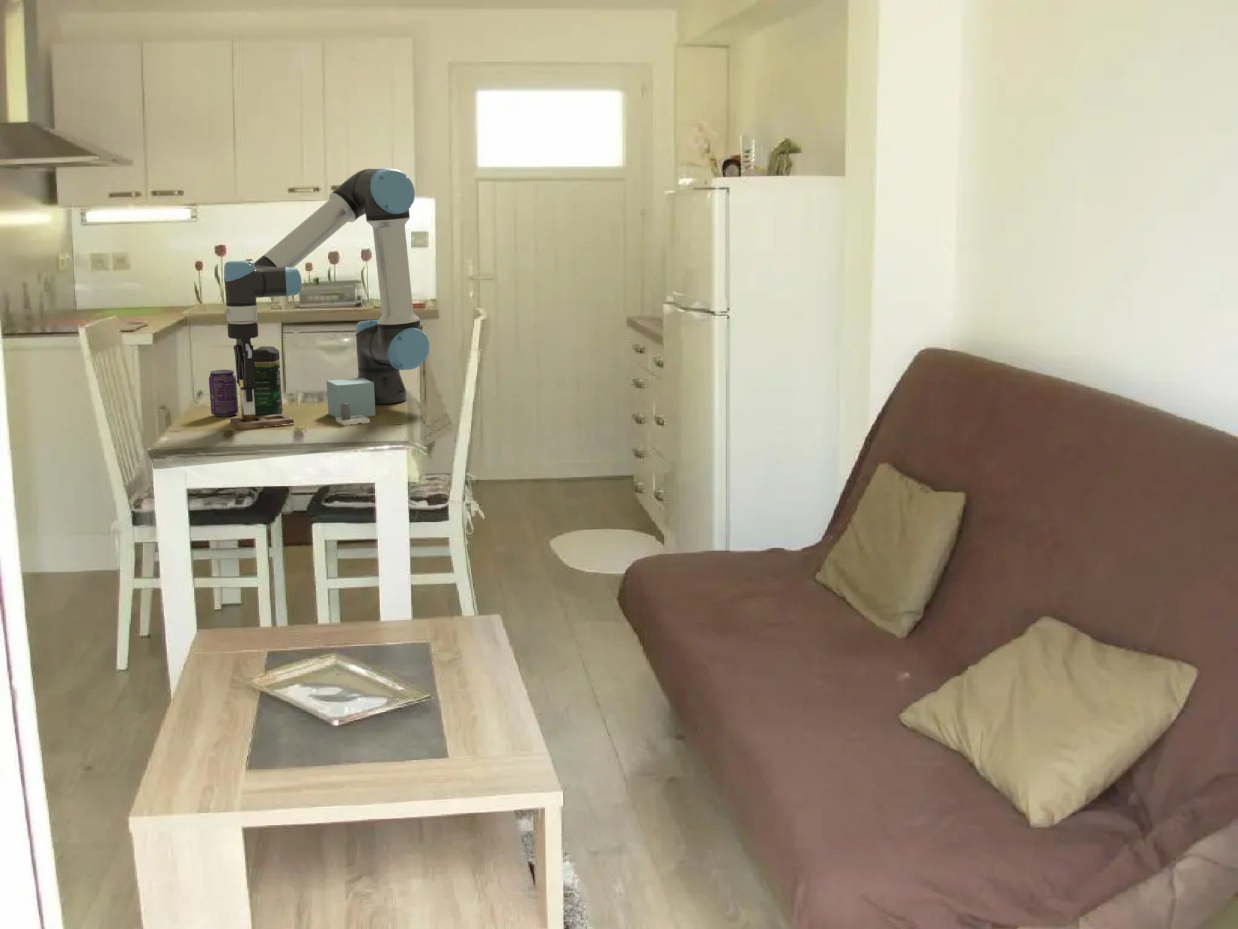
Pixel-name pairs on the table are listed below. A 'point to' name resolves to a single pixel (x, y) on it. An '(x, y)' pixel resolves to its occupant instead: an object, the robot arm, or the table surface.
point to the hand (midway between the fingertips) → (248, 413)
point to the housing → (351, 396)
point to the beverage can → (223, 393)
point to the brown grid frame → (262, 421)
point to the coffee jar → (267, 381)
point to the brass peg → (244, 417)
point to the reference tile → (348, 419)
